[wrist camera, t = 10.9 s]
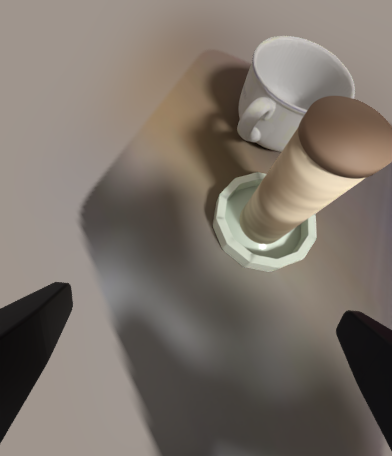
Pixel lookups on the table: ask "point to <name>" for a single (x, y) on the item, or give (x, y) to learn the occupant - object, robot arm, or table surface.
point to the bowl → (246, 248)
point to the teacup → (287, 88)
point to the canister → (318, 166)
